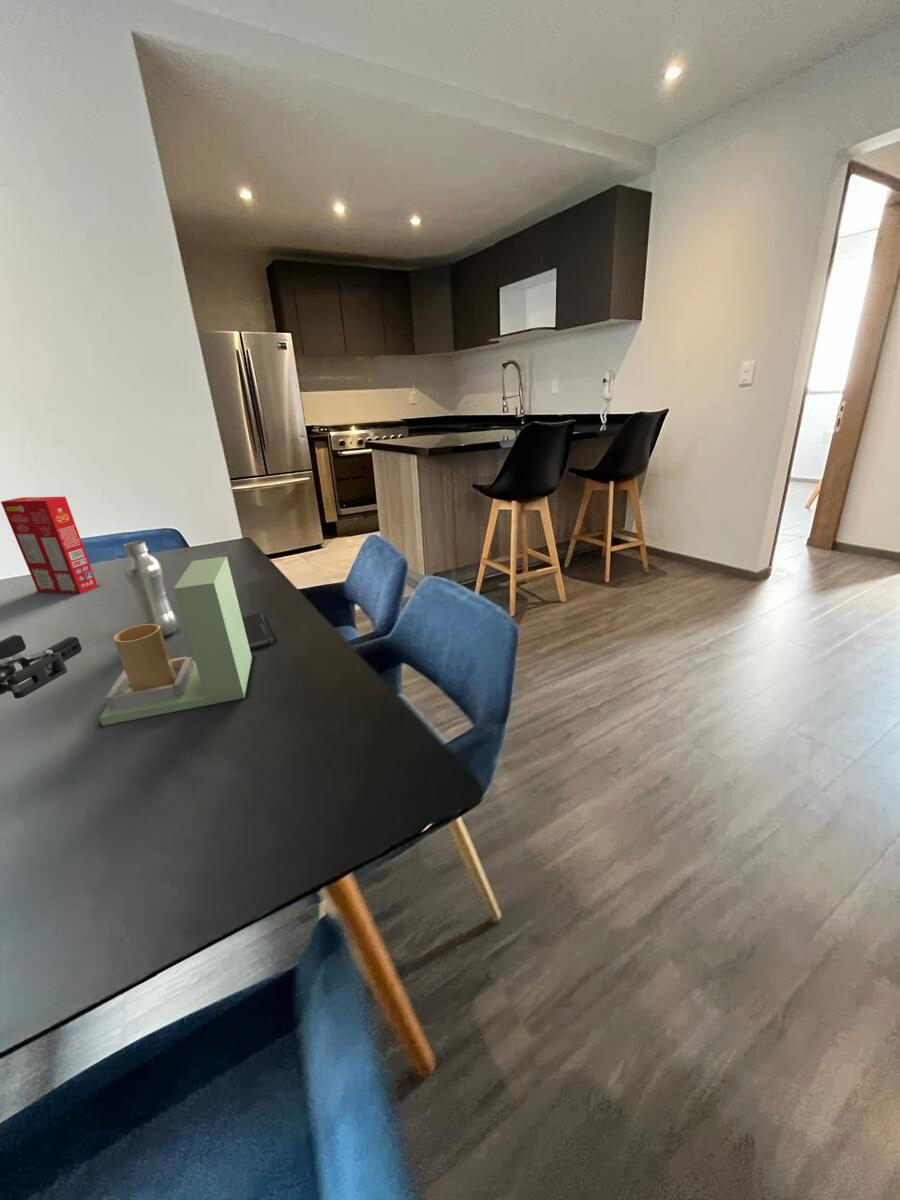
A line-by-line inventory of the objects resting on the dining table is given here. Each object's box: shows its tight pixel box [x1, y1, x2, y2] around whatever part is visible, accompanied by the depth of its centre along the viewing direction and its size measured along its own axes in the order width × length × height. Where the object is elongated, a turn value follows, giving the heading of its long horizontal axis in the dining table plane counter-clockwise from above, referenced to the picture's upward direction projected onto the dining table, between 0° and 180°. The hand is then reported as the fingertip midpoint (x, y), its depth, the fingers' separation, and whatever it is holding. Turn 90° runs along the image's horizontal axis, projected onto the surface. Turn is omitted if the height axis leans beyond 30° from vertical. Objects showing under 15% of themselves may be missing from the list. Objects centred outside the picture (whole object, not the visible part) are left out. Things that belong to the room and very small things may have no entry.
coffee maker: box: [99, 556, 253, 726], centre depth 79 cm, size 20×14×20 cm
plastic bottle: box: [123, 540, 178, 637], centre depth 100 cm, size 6×7×20 cm
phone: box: [242, 613, 274, 651], centre depth 101 cm, size 8×1×15 cm
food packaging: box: [0, 496, 98, 594], centre depth 131 cm, size 15×5×25 cm, turn 77°
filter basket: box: [112, 624, 176, 692], centre depth 80 cm, size 6×6×10 cm
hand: (49, 642), depth 64 cm, fingers open, 8 cm apart
